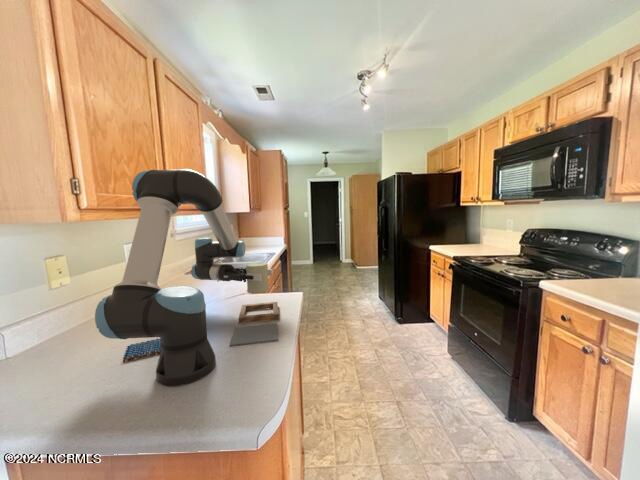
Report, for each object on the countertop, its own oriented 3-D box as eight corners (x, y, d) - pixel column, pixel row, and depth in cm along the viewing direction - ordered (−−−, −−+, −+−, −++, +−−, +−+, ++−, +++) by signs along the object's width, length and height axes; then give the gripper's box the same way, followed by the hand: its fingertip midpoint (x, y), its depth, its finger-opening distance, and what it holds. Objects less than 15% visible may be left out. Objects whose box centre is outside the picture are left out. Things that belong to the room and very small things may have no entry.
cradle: (238, 323, 107) (238, 318, 107) (242, 309, 123) (242, 304, 123) (278, 319, 110) (278, 314, 110) (277, 306, 126) (277, 301, 126)
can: (271, 287, 120) (270, 261, 119) (265, 293, 111) (264, 265, 109) (251, 287, 121) (250, 261, 120) (243, 293, 112) (242, 265, 110)
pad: (229, 346, 89) (229, 344, 89) (234, 328, 102) (234, 327, 102) (278, 340, 92) (278, 339, 92) (276, 324, 105) (276, 323, 105)
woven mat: (163, 355, 86) (162, 349, 85) (122, 365, 81) (122, 358, 80) (164, 341, 95) (164, 336, 94) (128, 349, 90) (127, 344, 89)
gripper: (238, 275, 131) (279, 277, 124) (206, 287, 111) (253, 290, 104) (237, 260, 131) (278, 261, 123) (204, 269, 110) (252, 271, 103)
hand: (266, 274), depth 113 cm, fingers closed on can, 9 cm apart
